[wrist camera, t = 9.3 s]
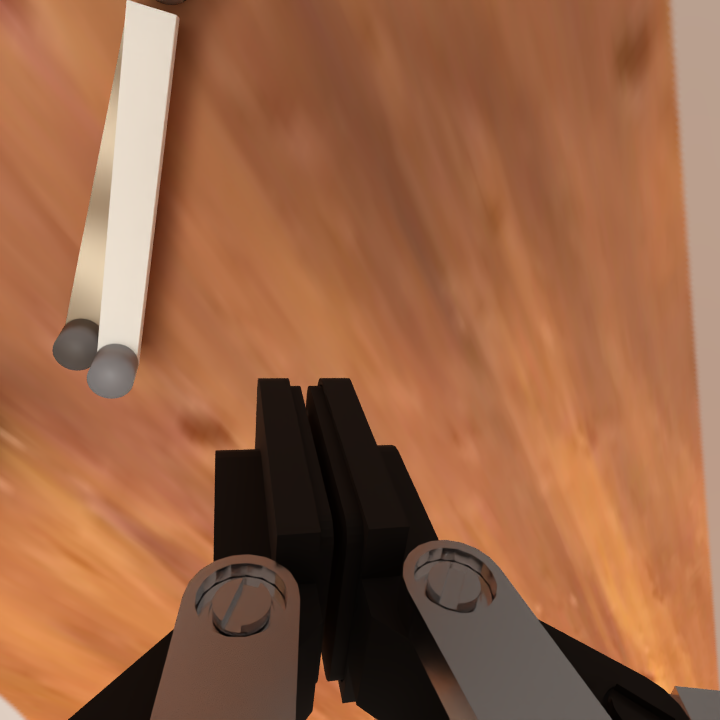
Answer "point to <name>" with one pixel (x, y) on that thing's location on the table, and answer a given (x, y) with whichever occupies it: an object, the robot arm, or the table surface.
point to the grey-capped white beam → (92, 251)
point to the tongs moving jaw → (134, 194)
